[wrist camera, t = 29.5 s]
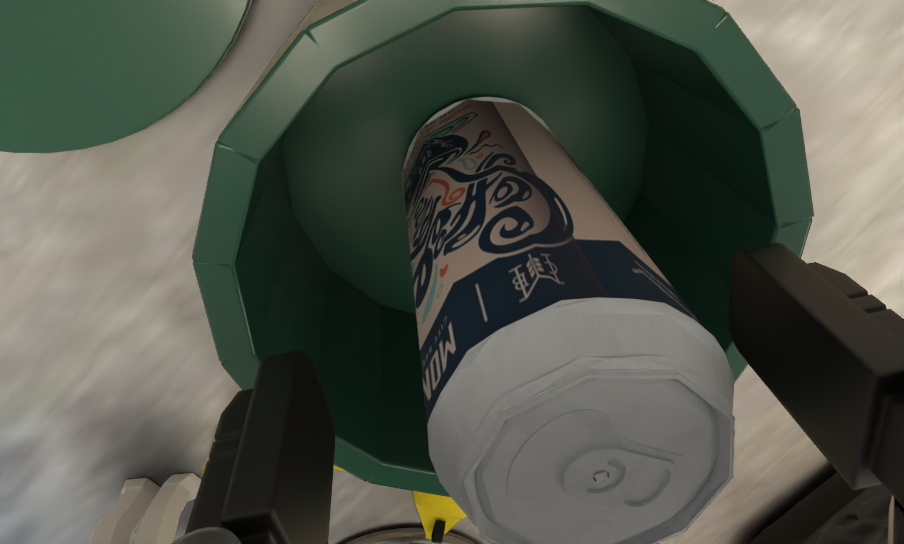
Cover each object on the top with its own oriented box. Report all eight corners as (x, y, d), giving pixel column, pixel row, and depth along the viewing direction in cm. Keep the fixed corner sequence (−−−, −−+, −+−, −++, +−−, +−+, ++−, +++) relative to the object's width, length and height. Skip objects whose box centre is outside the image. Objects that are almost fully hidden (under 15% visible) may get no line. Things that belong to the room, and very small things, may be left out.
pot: (558, 362, 24) (625, 529, 17) (222, 277, 21) (151, 446, 14) (742, 37, 18) (941, 107, 12) (324, -151, 15) (285, -195, 9)
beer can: (438, 65, 17) (530, 294, 7) (584, 127, 19) (840, 396, 8) (379, 212, 19) (382, 556, 9) (514, 258, 21) (650, 603, 10)
